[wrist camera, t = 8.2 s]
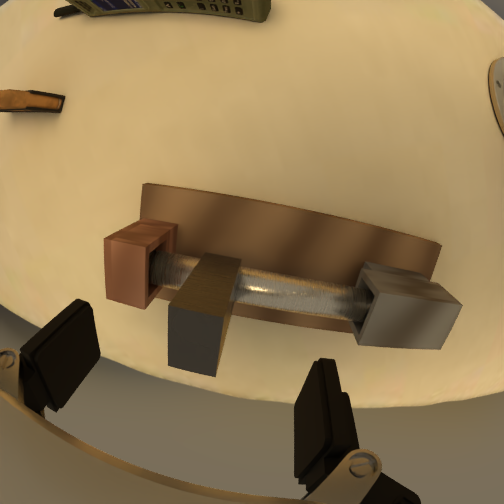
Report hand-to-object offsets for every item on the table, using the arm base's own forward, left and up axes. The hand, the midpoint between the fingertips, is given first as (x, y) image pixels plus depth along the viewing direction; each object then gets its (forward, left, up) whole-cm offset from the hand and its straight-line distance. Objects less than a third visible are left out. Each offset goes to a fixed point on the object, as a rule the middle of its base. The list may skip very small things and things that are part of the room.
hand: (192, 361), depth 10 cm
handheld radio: (+13, -23, -14) cm, 30 cm away
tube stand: (-5, 0, -14) cm, 14 cm away
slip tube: (-3, 0, -10) cm, 10 cm away
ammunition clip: (+25, -13, -14) cm, 31 cm away
